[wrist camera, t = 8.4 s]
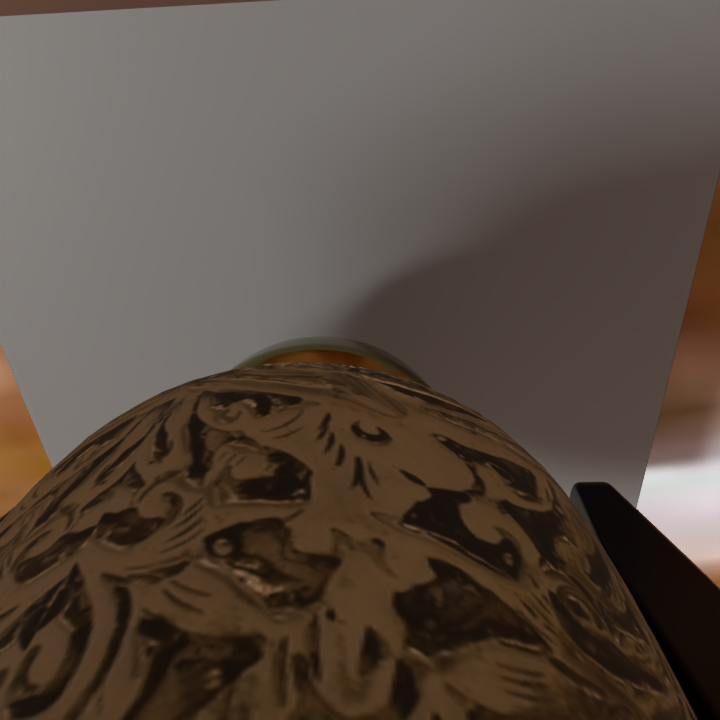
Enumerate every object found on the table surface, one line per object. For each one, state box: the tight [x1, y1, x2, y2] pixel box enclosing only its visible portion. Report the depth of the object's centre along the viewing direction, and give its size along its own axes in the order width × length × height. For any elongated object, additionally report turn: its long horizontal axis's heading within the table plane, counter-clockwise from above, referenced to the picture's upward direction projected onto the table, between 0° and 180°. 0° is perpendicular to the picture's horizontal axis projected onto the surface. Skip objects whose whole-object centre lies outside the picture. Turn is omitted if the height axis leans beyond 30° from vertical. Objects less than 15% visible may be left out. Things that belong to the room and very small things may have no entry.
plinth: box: [0, 0, 720, 508], centre depth 13 cm, size 11×11×3 cm
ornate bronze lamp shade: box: [0, 336, 698, 720], centre depth 7 cm, size 8×7×8 cm
